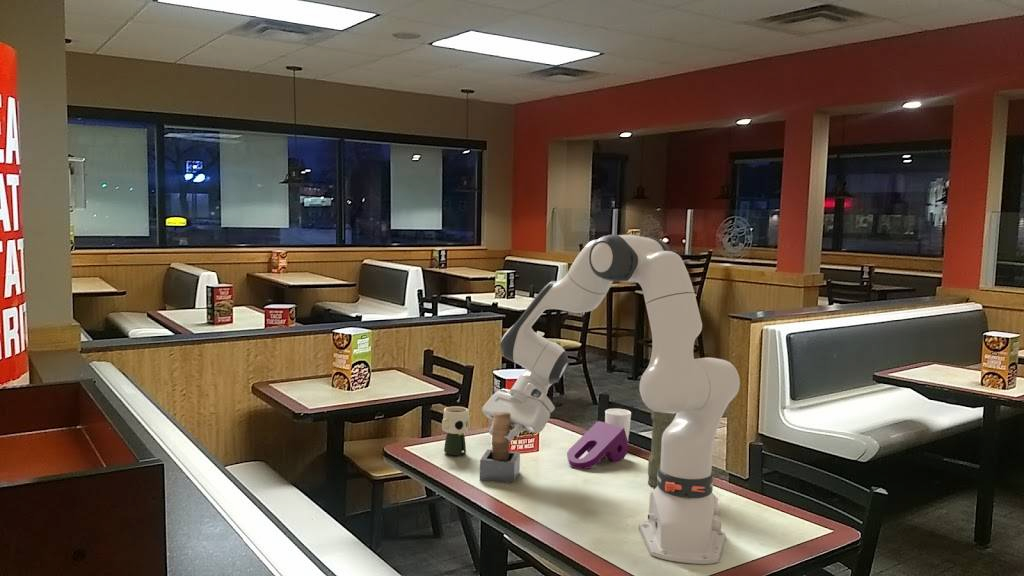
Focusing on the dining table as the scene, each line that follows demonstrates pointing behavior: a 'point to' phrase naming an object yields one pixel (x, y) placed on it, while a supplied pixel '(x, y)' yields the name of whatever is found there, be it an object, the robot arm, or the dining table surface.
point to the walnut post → (500, 436)
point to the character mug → (455, 429)
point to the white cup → (619, 418)
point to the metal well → (500, 468)
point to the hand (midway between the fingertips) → (499, 436)
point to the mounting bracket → (599, 445)
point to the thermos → (657, 443)
